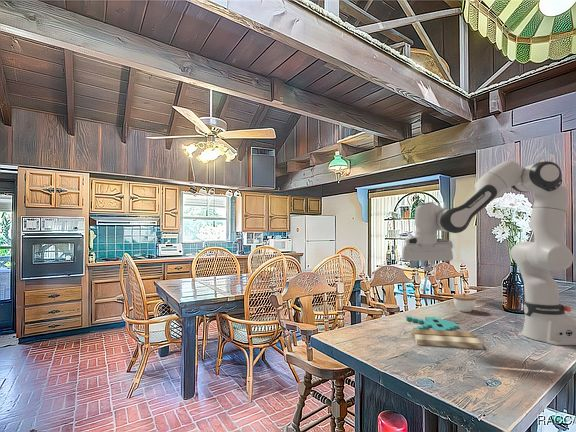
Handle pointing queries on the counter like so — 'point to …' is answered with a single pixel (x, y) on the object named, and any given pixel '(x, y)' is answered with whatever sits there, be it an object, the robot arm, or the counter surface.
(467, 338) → the birch plank
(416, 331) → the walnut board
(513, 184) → the robot arm
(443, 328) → the alien figure
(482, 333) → the counter surface
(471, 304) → the lidded jar
